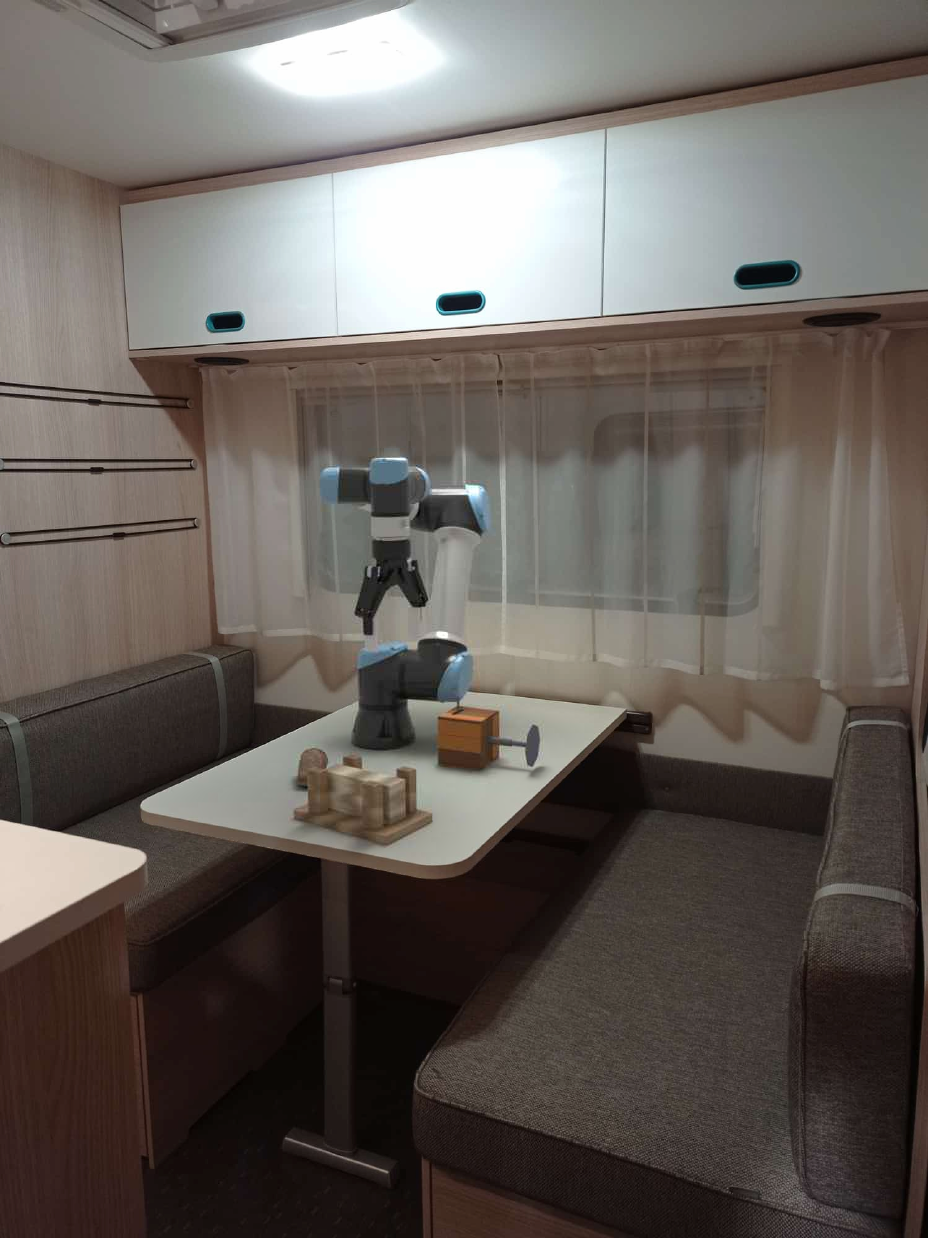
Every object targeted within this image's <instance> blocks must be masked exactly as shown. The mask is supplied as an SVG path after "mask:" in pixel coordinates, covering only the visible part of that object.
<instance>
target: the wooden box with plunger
mask: <svg viewBox="0 0 928 1238" xmlns="http://www.w3.org/2000/svg"><path fill="white" fill-rule="evenodd" d="M460 702H461V700H460V696H456V702H455V703H456V706H455V707H453V708H451V709H450V710H448V711H446V712H443V713H442V714H440V715H438V716H437V765H439V766H445V767H453V768H459V769H460V768H461V769H465V770H467V769H468V770H473V771H479V772H480V771H482V770H483V769H484V768H486V767H488V766H489V765H491V763H494V761H496V760H497V759H498V758H499V757H500V746H503V747H518V748H519V747H521V748H525V750H524V753H525V760H526V765H527V766H528V767H531V768H533V767H534V765H535V763H536V761H537V759H538V757H539V751H540V743H541V737H540V736H541V735H540V729H539V726H538V725H535V724H532V725H531V727H530V729H529V731H528V733H527V735H526V741H522V740H521V741H519V740H513V739H512V738H506V737H505V738H504V737H500V709H489V708H483V707H476V706H475V707H474V706H467V705H466V706H464V705H460Z"/></svg>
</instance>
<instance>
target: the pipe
mask: <svg viewBox="0 0 928 1238" xmlns="http://www.w3.org/2000/svg"><path fill="white" fill-rule="evenodd" d="M328 765H329V758H328V755H327V754H326V752H325V751H324V750H322V749H320V748H317V747H312V748H311V747H310V748H307V749H306V750H304V751H303V752H302V754H301V755H300V758H299V763H298V767H297V769H298V770H297V777H296V779H295V783H296V784H297V785H298V786H302V787H307V788H308V781H307V770H308V769H311V768H314V767H317V768H321V769H326V768H328Z"/></svg>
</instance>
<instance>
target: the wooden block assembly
mask: <svg viewBox="0 0 928 1238" xmlns="http://www.w3.org/2000/svg"><path fill="white" fill-rule="evenodd" d="M342 765H345V766H349V767H354V768H358V769H362V770H363V757H362V756H360V755H356V754H350V753H349V754H346V755H343V756H342ZM395 772H396V773H395V777H397V778H402V779H405V795H406V817H404V818H402V819H400V820H398V821H397V822H395V823H393V824H391V825H389V824H385V823H383V783H379V782H375V781H370V780H369V781H366V782H364V783H362V817H359V816H355V815H352V814H348V813H344V812H340V811H337V810H333V809H329V808H328V786H327V770H325V769H321V768H317V767H314V768H311V769H308V770H307V781H308V787H307V803H306V804H305V805H302V806H300V807H298V808H296V809H295V808H294V809H293V818H294V819H297V820H300V821H304V822H307V823H310V824H313V825H317V826H320V827H321V826H322V827H324V828H328V829H331V830H334V831H338V832H341V833H345V834H348V835H352V836H355V837H359V838H362V839H366V840H369V841H372V842H375V843H378V844H382V845H386V846H388V845H389V844H391V843H393V842H395V841H397V840H398V839H401V838H403V837H405V836H407V835H408V834H411V833H413V832H414V831H416V830H418V829H420V828H422V827H424V826H426V825H428V824H429V823H432V822H433V812H429V811H425V810H421V809H417V807H418V806H417V805H418V804H417V803H418V802H417V800H418V799H417V768H414V767H409V766H406V765H405V766H404V765H403V766H400V767H397V768H396V769H395Z"/></svg>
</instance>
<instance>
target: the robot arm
mask: <svg viewBox="0 0 928 1238" xmlns="http://www.w3.org/2000/svg"><path fill="white" fill-rule="evenodd" d="M318 480H319V483H318V490H319V494H320V497H321V499H322V501H323V502H324V503H326V504H329V505H330V504H332V505H338V506H339V505H349V506H351V507H355V508H358V509H361V510H365V511H367V512H370V527H371V531H370V533H371V536H372V537H373V540H372V541H371V552H372V554H371V556H372V558H373V559H374V560H375V565H374V566H373V565H365V567H364V568H363V569H364V570H363V571H364V572H363V574H364V575H363V580H362V584H361V587H360V592H359V594H358V599H357V602H356V606H355V609H354V612H353V613H354V616H355V617H358V618H359V619H360V618H361V619H362V632H363V635H364V647H363V648H361V649H360V650H359V651H358V655H357V667H356V670H357V692H358V693H357V695H358V696H357V697H358V700H357V701H358V711H357V714H356V717H355V720H354V724H353V728H352V730H351V742H352V743H353V745H355V746H357V747H360V748H364V749H371V750H391V749H398V748H403V747H407V746H409V745H411V744H413V743H415V742H416V740H417V739H416V729H415V726H414V724H413V720H412V717H411V714H410V710H409V702H408V700H410V701H424V702H425V701H426V702H437V703H438V702H439V703H443V704H444V703H457V702H456V696H460V701H462V700H463V699H464V698H465V696H466V695H467V693H468V691H469V689H470V686H471V682H472V679H473V672H474V667H473V666H474V658H473V656H472V654H471V653H469V652H468V646H467V644H466V643H465V641H464V640H463V633H464V626H465V625H464V624H465V619H466V611H467V602H468V594H469V587H470V586H469V585H470V580H471V579H470V578H471V571H472V563H473V555H474V549H475V548H476V547H477V546H478V545H479V544H480V543H481V541H482V535H486V534H488V533H490V531H491V527H492V514H491V505H490V501H489V496H488V493H487V491H486V489H485V488H484V487H483V486H481V485H471V484H460V485H459V484H458V485H457V484H454V485H453V484H441V485H440V484H439V485H438V484H434V485H433V484H431V483H430V482H431V481H430V477H429V476H428V474H427V473H426V472H425V471H424V470H423V469H422V468H419V467H417V466H413V465H412V466H410V465H409V460H408V459H407V458H405V457H375V458H372V459H371V460H370V463H369V467H340V466H337V467H327V468H325V469H323V471H322V472H321V474H320V475H319V479H318ZM411 530H412V531H417V532H424V533H433V537H434V539H435V540H436V541H437V542H438V544H437V545H438V546H437V551H436V552H437V553H436V560H435V568H434V572H433V573H434V574H433V580H432V588H431V595H430V596H431V597H430V603H429V610H428V618H427V624H426V625H427V626H426V631H425V635H424V636H423V637H422V608H425V607H426V606H427V603H428V602H429V596H428V593H427V591H426V587H425V584H424V582H423V579H422V577H421V576H422V575H421V573H420V570H419V563H418V559H415V558H414V559H413V558H411V556H412V554H411V553H412V550H411V549H412V548H411V540H410V539H409V538H408V537H409V536H411ZM395 586H398V587H399V589H400V590H401V592H402V594H403V595H404V597H405V598H406V600H407V601H408V603H409V605H410V606H407V631H408V639H411V640H418V641H417V649H409V646H408V644H407V642H402V641H391V642H383V643H381V642H380V643H379V631H378V629H379V627H378V618H376V617H375V616H376V614H377V612H378V610H379V607H380V606H381V604H382V601H383V599H384V597H385V595H386V592H387V591H388V590H390V588H391V587H395Z"/></svg>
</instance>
